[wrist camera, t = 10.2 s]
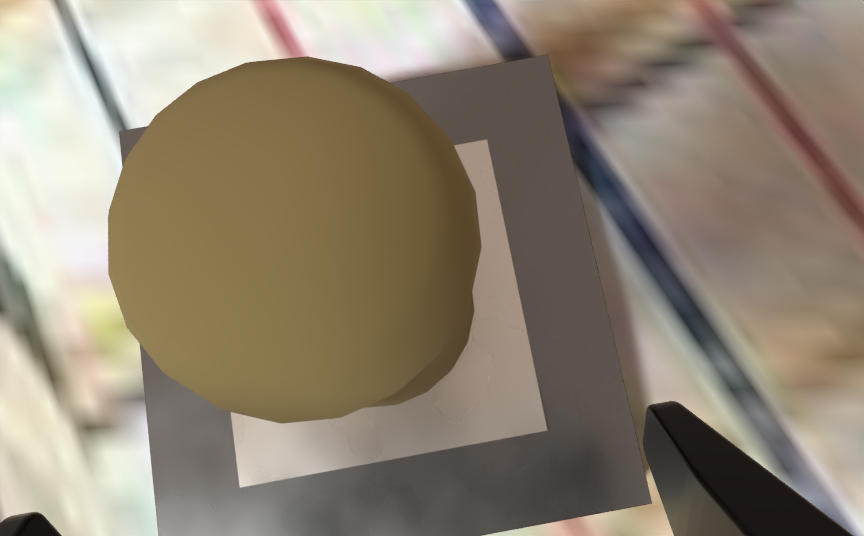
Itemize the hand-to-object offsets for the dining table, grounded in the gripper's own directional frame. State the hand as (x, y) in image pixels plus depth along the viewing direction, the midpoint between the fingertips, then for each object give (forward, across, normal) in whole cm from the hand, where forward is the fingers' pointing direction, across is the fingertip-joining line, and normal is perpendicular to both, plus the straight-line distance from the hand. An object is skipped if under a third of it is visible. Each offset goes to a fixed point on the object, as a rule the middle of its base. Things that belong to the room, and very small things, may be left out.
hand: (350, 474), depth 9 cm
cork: (+9, 0, +4) cm, 9 cm away
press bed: (+10, 0, +5) cm, 11 cm away
